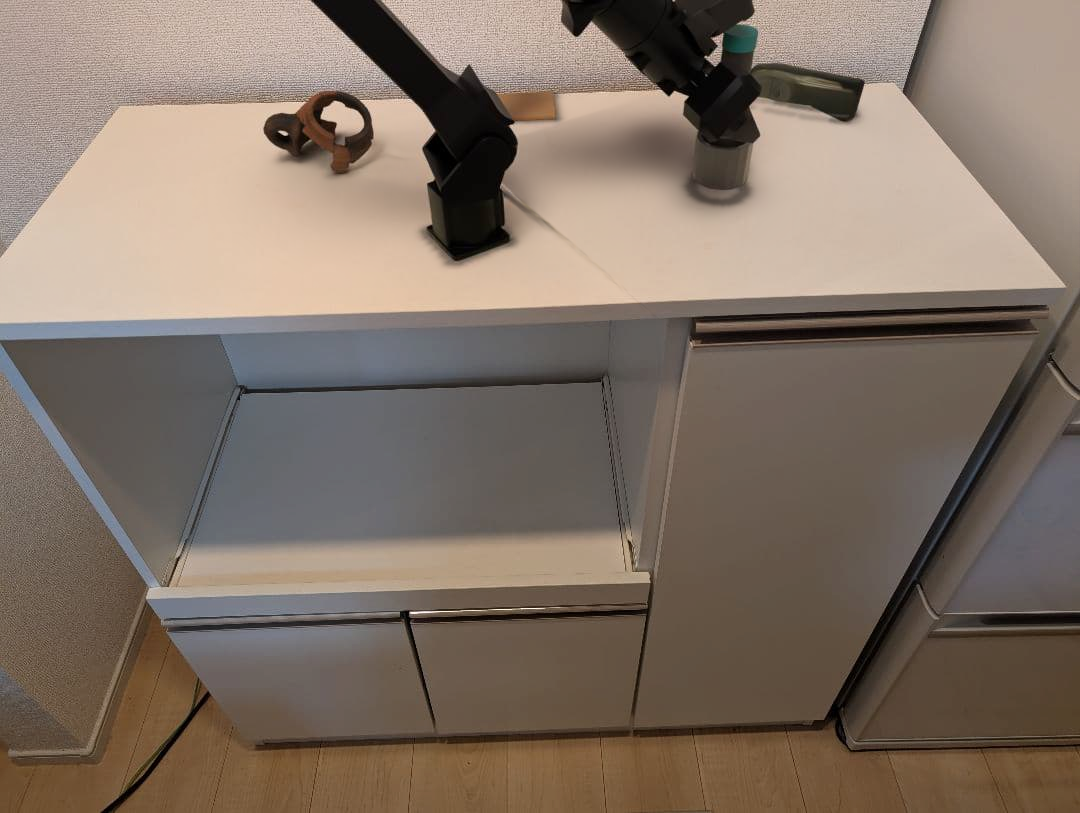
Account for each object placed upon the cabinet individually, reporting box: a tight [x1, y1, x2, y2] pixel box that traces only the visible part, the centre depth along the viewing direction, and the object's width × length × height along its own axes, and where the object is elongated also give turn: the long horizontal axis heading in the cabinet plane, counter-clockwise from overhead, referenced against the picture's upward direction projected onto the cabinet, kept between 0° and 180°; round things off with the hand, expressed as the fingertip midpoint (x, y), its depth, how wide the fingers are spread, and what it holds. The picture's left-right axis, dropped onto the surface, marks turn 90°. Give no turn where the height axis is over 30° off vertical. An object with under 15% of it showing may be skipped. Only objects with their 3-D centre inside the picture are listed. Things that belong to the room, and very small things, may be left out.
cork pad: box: [497, 91, 557, 122], centre depth 101 cm, size 9×7×1 cm
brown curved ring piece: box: [262, 90, 375, 174], centre depth 91 cm, size 12×10×8 cm
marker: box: [709, 24, 759, 148], centre depth 80 cm, size 3×3×15 cm
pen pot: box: [691, 130, 754, 191], centre depth 85 cm, size 6×6×6 cm
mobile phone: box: [750, 62, 866, 121], centre depth 97 cm, size 5×3×15 cm
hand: (734, 118), depth 81 cm, fingers open, 9 cm apart
